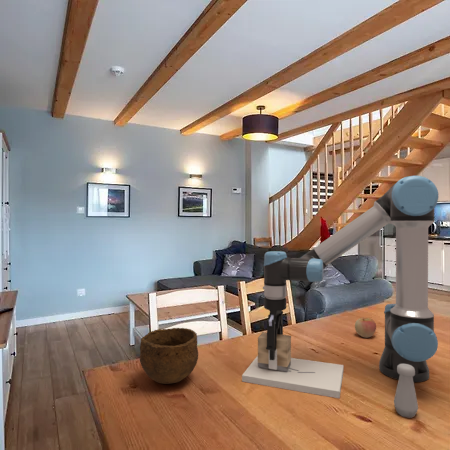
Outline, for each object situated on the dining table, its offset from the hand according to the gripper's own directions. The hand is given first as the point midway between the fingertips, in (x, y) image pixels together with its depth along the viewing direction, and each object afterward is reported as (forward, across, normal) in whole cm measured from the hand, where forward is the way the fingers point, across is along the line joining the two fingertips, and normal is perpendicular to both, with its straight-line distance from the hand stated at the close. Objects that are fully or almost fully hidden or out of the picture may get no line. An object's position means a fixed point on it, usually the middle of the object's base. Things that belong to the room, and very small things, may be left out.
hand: (275, 364), depth 119 cm
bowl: (+3, +18, -30) cm, 36 cm away
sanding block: (0, 0, 0) cm, 0 cm away
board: (+3, 0, +6) cm, 7 cm away
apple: (+3, -51, +28) cm, 58 cm away
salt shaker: (+3, +12, +38) cm, 40 cm away
